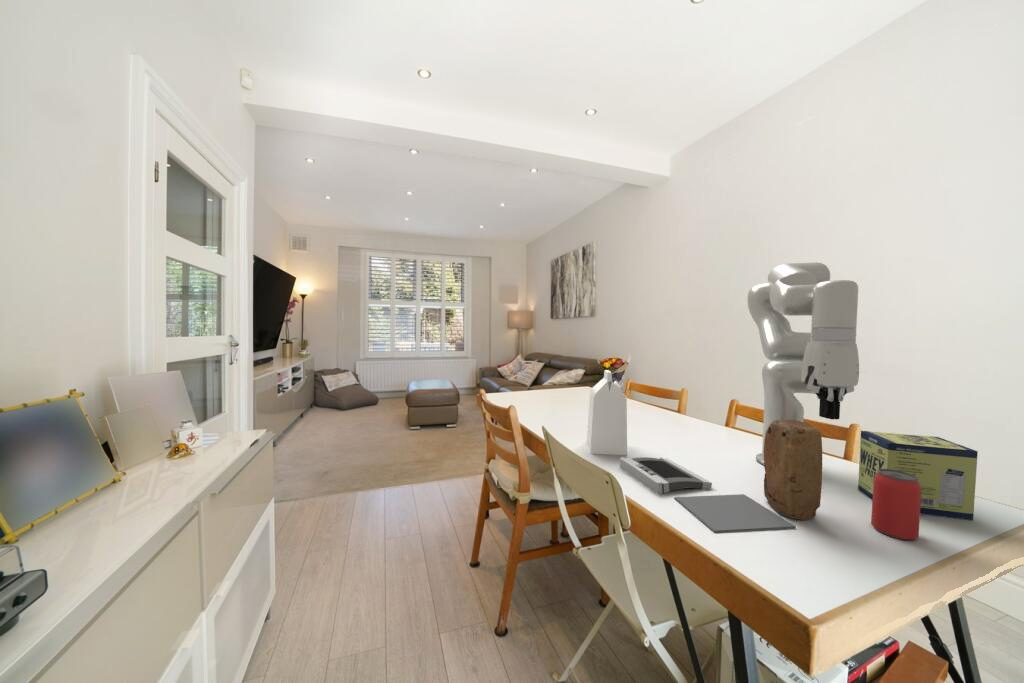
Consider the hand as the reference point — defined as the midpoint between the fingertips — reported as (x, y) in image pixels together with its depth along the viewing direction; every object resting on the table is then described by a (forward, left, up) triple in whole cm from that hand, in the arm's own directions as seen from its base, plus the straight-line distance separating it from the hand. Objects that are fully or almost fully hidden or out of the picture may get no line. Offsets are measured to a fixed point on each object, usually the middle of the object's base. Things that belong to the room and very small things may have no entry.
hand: (829, 417), depth 80 cm
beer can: (-5, +10, -21) cm, 24 cm away
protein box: (-23, 0, -21) cm, 31 cm away
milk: (+35, -43, -21) cm, 60 cm away
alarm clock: (+28, -19, -22) cm, 40 cm away
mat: (+23, 0, -21) cm, 31 cm away
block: (+9, 0, -21) cm, 23 cm away
